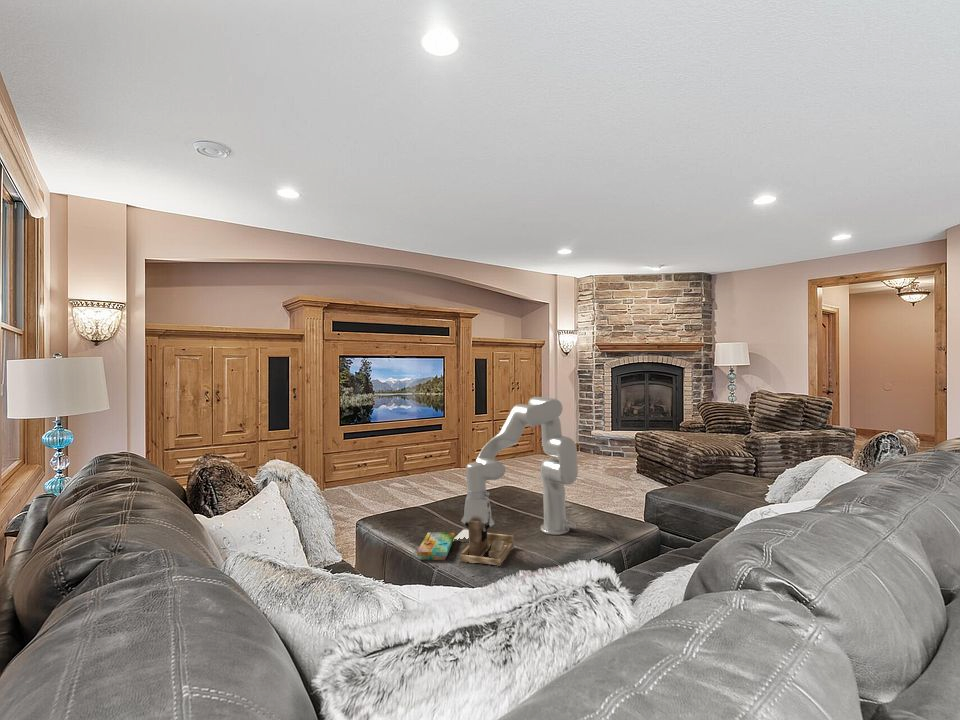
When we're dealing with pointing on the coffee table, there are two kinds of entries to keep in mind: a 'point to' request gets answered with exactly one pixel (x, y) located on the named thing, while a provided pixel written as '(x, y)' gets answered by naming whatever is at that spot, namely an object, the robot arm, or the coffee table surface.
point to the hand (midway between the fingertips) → (478, 539)
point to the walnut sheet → (476, 538)
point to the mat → (462, 534)
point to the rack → (491, 537)
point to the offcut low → (497, 554)
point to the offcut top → (497, 546)
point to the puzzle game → (435, 546)
